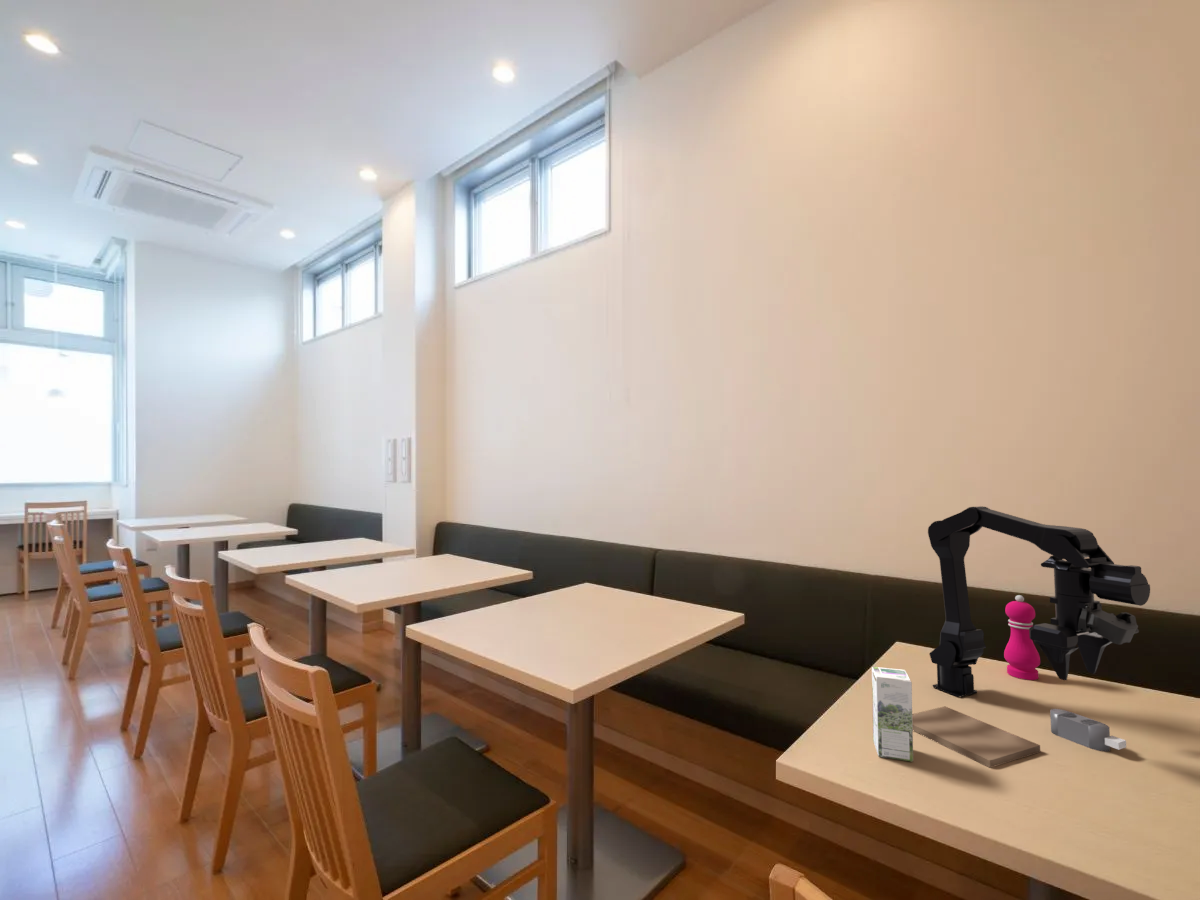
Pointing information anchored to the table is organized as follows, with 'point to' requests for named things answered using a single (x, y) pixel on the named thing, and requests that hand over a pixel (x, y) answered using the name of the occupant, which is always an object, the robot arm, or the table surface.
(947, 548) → the robot arm
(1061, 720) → the charcoal usb stick
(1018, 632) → the pepper mill
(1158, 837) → the table surface
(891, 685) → the syrup box
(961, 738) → the walnut board
